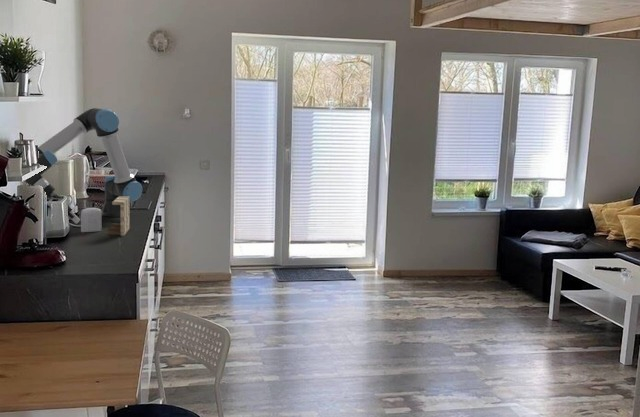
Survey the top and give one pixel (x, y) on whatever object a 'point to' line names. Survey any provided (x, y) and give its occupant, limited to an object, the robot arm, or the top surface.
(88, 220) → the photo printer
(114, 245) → the top surface
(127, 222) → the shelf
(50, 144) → the robot arm
